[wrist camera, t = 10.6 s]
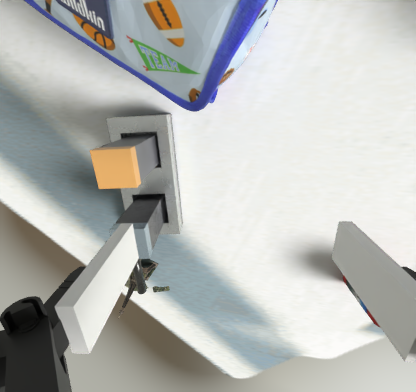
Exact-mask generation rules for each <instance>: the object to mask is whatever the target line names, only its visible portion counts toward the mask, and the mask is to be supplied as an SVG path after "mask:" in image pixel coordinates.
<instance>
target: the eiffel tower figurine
mask: <svg viewBox="0 0 416 392" xmlns="http://www.w3.org/2000/svg"><path fill="white" fill-rule="evenodd" d="M140 261H141V266H142V271H143V276H144V281H145V280H148V279H149V277H150V276H151V274H152V273H153V271H154V270H155V268H156V267H157V265H158V263H156V262H154V261H152V260H150V259H140ZM125 286H126V287H128V288H129V289H128V293H127V295H126V298H125V301H124V303H123V306H122V308H121V310H120V312H119V313H120V315H121V314H122V313H123V312H124V308H125V306H126V304H127V302H128V300H129V298H130V297H131V295H132V293H133V291H137V286H136V282H135V277H134V272H133V270H132V272H131V274H130V276H129V278H128V280H127V282H126V284H125ZM145 286H146V283H145ZM146 289H147V286H146ZM168 290H169V286H167V287H157V286H154V287H153V291H154V292H161V291H168ZM119 317H120V316H119Z"/></svg>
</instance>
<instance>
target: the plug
mask: <svg viewBox="0 0 416 392" xmlns="http://www.w3.org/2000/svg"><path fill="white" fill-rule="evenodd" d="M90 154H91V158H92V162H93V166H94V170H95V174H96V179H97V183H98V187H99V189H114V188H137V187H138V186H139V185H140V184H141V182H142V181H143V180H144V179H145V178H146V176H147V175H148V174H149V173H150V172H151V171H152V170H153V169H154V168H155V167H156V166H157V165H158V163H159V162H160V161H161V159H160V152H159V144H158V136H157V134H138V135H130V136H127V137H125V138H122V139H120V140H117V141H114V142H112V143H109V144H107V145H104V146H102V147H99V148H95V149H92V150H90Z"/></svg>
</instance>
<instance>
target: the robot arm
mask: <svg viewBox="0 0 416 392" xmlns="http://www.w3.org/2000/svg"><path fill="white" fill-rule="evenodd" d="M138 259H139V256H138V250H137V245H136V239H135V234H134V228H133V223H121V224H120V225H119V227H118V228H117V229H116V230H115V232H114V233H113V234H112V235H111V237H110V238H109V239H108V240H107V242H106V243H105V244H104V245H103V247H102V248H101V249H100V250H99V252H98V253H97V254H96V255H95V257H94V258H93V259H92V260H91V262H90V263H89V264H88V265H87V267H79V268H77V269H76V270H75V271H73V272H72V273H70V275H69V276H68V277H67V278H66V279H65V280H64V282H63V283H62V284H61V285H60V286H59V288H58V289H57V290H56V291H55V292H54V293H53V294H52V296H51V297H50V298H49V299H48V300H47V301H46V302H45V304H44V305H43V303H42V300H41V299H40V298H39V297H36V296H35V297H27V298H24V299H21V300H19V301H17V302H15V303H13V304H12V305H11V306H9V307H8V308H6V309H5V311H4V312H3V313H2V314H1V316H0V322H1V323H2V325H3V327H4V329H5V330H2V331H0V392H72V391H71V386H70V380H69V374H68V369H67V364H66V359H65V356H64V351H65V350H66V349H67V347H68V345H70V348H71V350H72V353H80V354H82V353H83V354H90V352H91V350H92V348H93V346H94V344H95V342H96V340H97V338H98V336H99V334H100V333H101V331H102V329H103V327H104V325H105V323H106V321H107V319H108V317H109V315H110V313H111V311H112V309H113V307H114V305H115V303H116V301H117V299H118V297H119V295H120V294H121V292H122V290H123V288H124V286H125V284H126V282H127V280H128V278H129V276H130V274H131V272H132V270H133V268H134V266H135V264H136V262H137V261H138ZM332 259H333V261H334V262H335V264H336V265H337V266H338V268H339V269H340V271H341V272H342V274H343V275H344V276H345V278H346V279H347V281H348V282H349V283H350V285H351V286H352V288H353V289H354V291H355V292H356V293H357V295H358V296H359V298H360V299H361V300H362V302H363V303H364V305H365V306H366V308H367V309H368V310H369V312H370V313H371V315H372V316H373V317H374V319H375V320H376V322H377V323H378V325H379V326H380V327H381V329H382V330H383V332H384V333H385V334H386V336H387V337H388V339H389V340H390V342H391V343H392V344H393V346H394V347H395V348H396V350H397V351H398V353H399V354H400V356H401V357H402V359H403V360H404V361H405V362H416V272H414V271H413V270H411V269H409V268H407V267H400V266H399V265H398V264H397V263H396V262H395V261H394V260H393V259H392V258H391V257H390V256H388V255H387V254H386V253H385V252H384V251H383V250H382V249H381V248H380V247H379V246H378V245H377V244H375V243H374V242H373V241H372V240H371V239H370V238H369V237H368V236H367V235H366V234H365V233H364V232H362V231H361V230H360V229H359V228H358V227H357V226H356V225H355V224H354V223H353V222H339V224H338V229H337V234H336V239H335V244H334V248H333V253H332Z"/></svg>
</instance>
